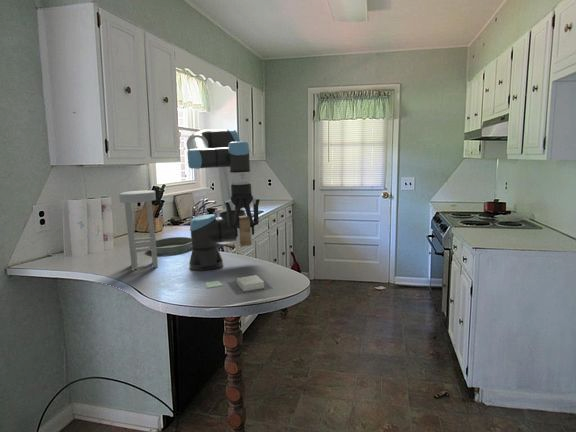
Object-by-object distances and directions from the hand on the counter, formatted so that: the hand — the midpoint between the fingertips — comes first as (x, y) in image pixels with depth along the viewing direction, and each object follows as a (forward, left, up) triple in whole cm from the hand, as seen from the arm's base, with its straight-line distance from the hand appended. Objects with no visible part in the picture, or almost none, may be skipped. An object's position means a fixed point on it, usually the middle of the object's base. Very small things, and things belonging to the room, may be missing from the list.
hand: (244, 243), depth 159 cm
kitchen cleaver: (-75, +9, -17) cm, 77 cm away
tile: (0, 0, -14) cm, 14 cm away
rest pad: (-5, -12, -16) cm, 21 cm away
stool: (-51, -35, -17) cm, 64 cm away
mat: (+3, 0, -16) cm, 17 cm away
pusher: (0, 0, 0) cm, 0 cm away
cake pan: (-78, -20, -17) cm, 82 cm away
